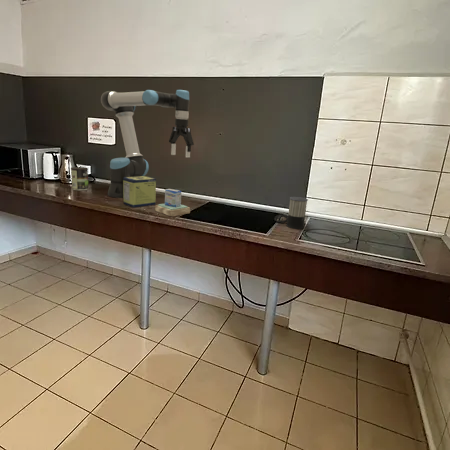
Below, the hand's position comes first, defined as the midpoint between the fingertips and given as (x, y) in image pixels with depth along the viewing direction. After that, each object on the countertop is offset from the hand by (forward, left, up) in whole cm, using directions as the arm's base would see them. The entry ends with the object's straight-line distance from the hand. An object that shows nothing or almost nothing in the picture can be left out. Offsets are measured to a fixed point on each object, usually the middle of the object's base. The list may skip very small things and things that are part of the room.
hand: (180, 156), depth 198 cm
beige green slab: (+17, -18, -28) cm, 38 cm away
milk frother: (+69, +17, -28) cm, 77 cm away
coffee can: (-63, -32, -28) cm, 77 cm away
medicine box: (+17, -18, -25) cm, 35 cm away
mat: (+17, -18, -25) cm, 35 cm away
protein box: (-7, -23, -28) cm, 38 cm away
